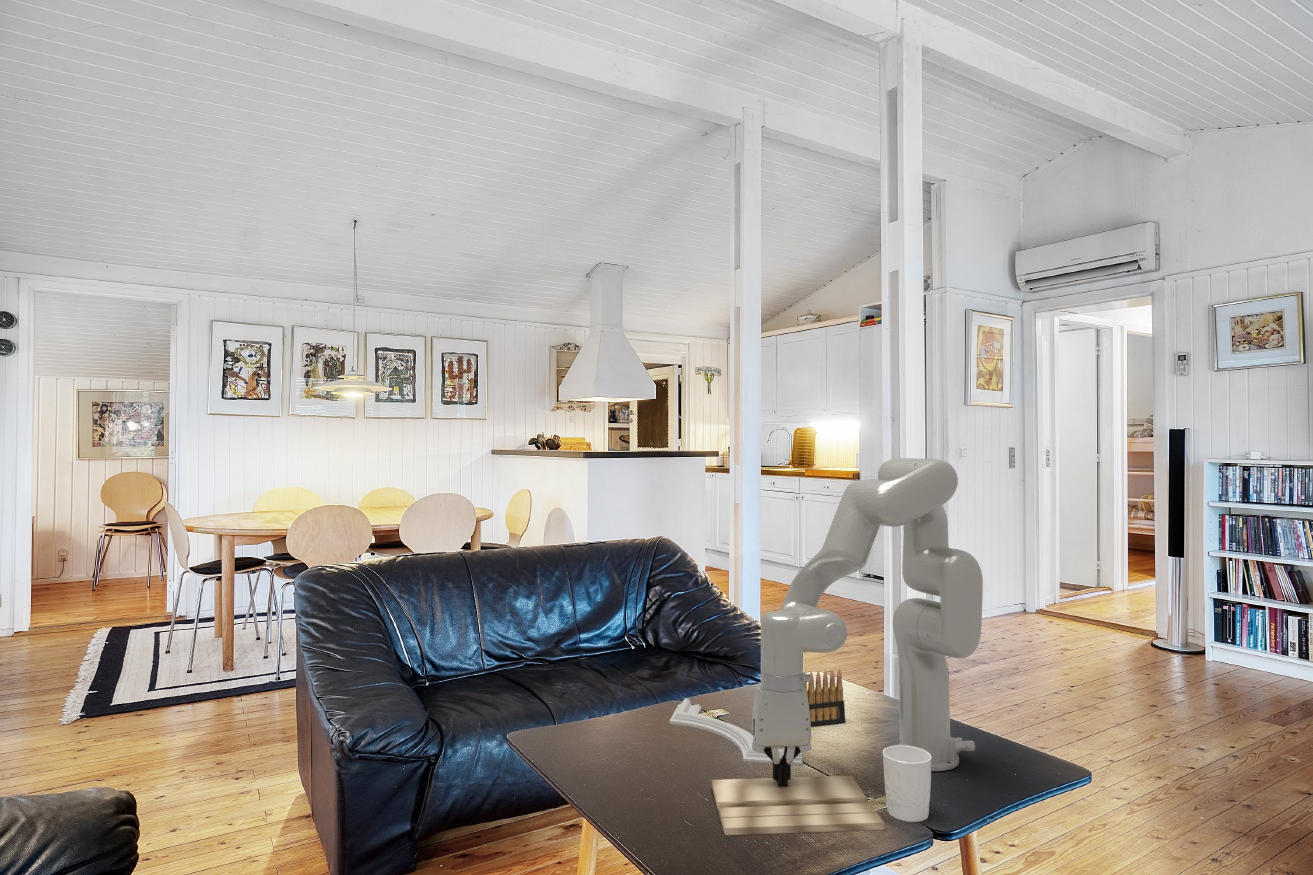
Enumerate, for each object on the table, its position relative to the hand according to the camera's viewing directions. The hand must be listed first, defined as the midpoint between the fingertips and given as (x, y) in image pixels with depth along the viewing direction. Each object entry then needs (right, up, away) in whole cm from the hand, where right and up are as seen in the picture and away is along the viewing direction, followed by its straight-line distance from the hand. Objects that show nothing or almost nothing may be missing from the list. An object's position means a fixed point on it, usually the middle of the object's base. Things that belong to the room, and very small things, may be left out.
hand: (781, 783), depth 139 cm
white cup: (+20, -2, -8) cm, 22 cm away
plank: (+1, -1, -2) cm, 3 cm away
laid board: (+1, -1, -11) cm, 12 cm away
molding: (-6, -3, +29) cm, 30 cm away
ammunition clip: (+15, -2, +34) cm, 38 cm away
